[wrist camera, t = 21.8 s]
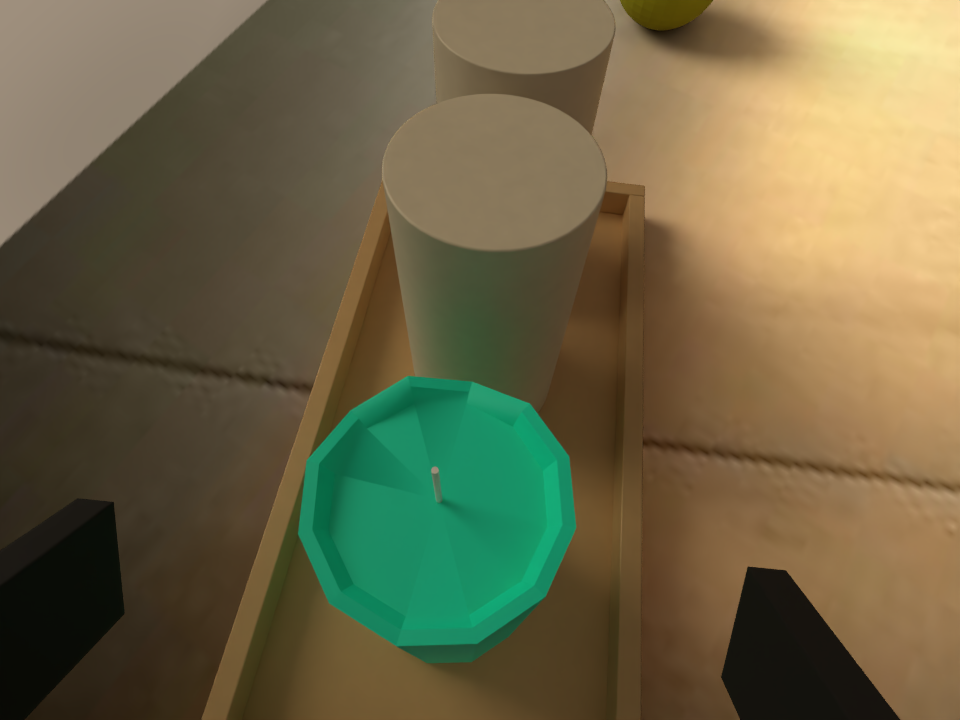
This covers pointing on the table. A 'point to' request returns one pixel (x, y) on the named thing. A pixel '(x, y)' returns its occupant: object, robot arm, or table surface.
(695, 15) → the ornament
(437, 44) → the cream candle
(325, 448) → the candle
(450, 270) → the cream candle
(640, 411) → the tray
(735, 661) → the robot arm
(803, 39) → the table surface
